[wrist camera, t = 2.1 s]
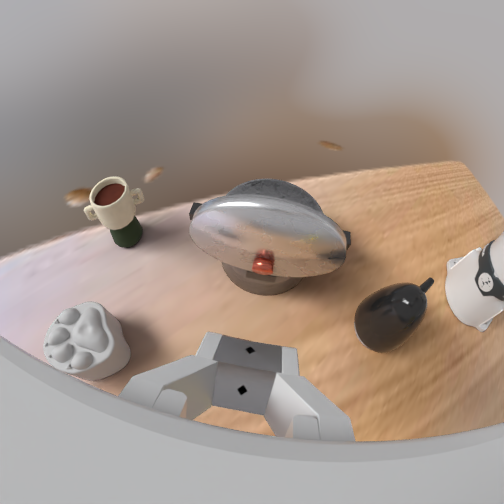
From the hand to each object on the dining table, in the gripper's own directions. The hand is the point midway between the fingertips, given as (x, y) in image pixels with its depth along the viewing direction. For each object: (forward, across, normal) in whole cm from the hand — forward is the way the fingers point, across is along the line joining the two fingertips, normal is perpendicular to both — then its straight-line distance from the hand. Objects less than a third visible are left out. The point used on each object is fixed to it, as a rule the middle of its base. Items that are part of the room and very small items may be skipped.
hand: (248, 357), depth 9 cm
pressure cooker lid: (+22, 0, 0) cm, 22 cm away
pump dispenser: (+36, -21, +15) cm, 44 cm away
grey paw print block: (+26, +25, +25) cm, 44 cm away
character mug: (+42, +27, +8) cm, 51 cm away
